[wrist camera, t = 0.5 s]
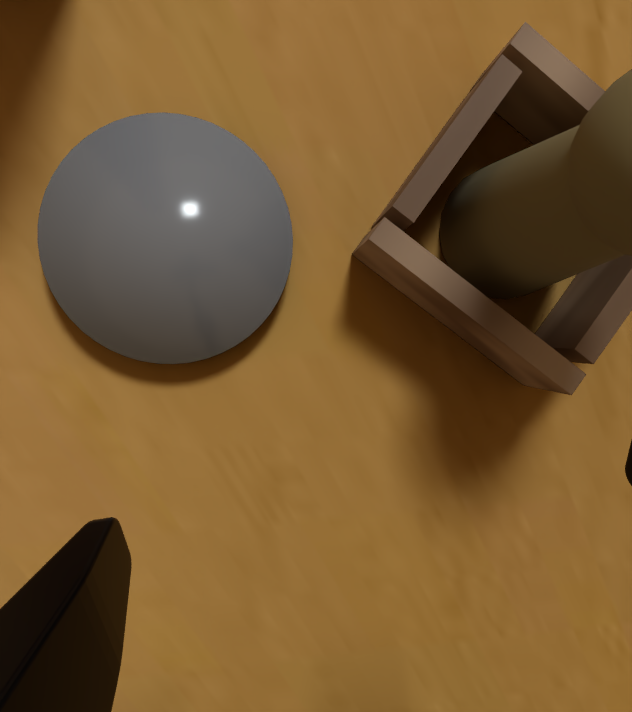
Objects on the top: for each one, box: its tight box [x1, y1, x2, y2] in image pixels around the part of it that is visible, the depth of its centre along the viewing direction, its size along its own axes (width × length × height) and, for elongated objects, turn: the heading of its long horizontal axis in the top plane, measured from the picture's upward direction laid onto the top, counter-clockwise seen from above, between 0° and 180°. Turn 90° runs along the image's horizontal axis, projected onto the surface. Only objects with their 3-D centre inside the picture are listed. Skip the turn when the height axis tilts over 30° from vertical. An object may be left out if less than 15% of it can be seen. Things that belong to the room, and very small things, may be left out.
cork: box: [439, 69, 632, 299], centre depth 16 cm, size 6×6×11 cm
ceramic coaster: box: [38, 113, 293, 364], centre depth 20 cm, size 10×10×1 cm
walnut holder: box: [352, 22, 632, 395], centre depth 20 cm, size 10×10×4 cm
